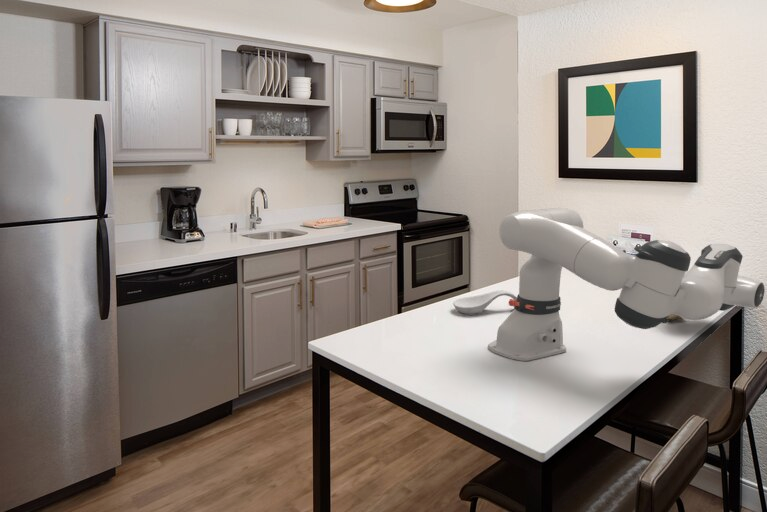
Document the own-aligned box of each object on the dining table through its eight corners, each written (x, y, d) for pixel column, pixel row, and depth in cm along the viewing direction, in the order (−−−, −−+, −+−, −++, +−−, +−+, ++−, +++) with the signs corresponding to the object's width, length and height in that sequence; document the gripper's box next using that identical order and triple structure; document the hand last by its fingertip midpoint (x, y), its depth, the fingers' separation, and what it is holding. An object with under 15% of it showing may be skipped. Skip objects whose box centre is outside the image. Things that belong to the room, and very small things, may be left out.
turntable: (673, 321, 173) (673, 315, 173) (636, 312, 183) (636, 307, 182) (690, 314, 181) (691, 308, 180) (654, 306, 190) (654, 301, 190)
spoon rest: (457, 318, 185) (457, 297, 184) (449, 308, 196) (449, 289, 195) (525, 315, 187) (526, 294, 186) (514, 305, 199) (514, 286, 197)
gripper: (683, 298, 164) (642, 288, 176) (725, 289, 173) (683, 280, 185) (684, 277, 163) (644, 269, 175) (727, 269, 172) (685, 262, 184)
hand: (664, 275), depth 180 cm, fingers closed on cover, 5 cm apart
